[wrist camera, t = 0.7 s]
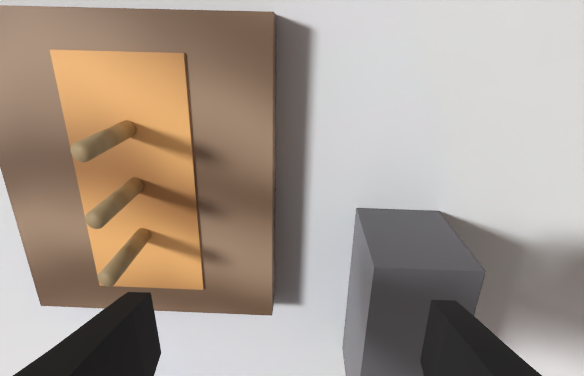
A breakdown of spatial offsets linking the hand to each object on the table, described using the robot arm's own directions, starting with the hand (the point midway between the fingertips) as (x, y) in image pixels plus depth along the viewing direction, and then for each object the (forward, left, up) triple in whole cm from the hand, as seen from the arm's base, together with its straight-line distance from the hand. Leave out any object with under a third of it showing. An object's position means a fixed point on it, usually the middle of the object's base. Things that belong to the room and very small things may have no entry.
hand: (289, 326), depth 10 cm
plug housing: (-5, -5, -9) cm, 11 cm away
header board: (+1, +7, -9) cm, 11 cm away
